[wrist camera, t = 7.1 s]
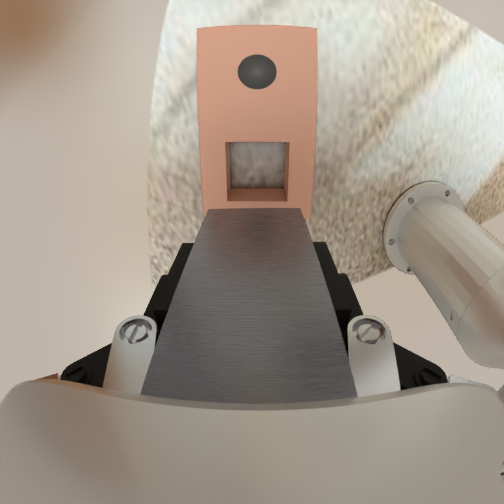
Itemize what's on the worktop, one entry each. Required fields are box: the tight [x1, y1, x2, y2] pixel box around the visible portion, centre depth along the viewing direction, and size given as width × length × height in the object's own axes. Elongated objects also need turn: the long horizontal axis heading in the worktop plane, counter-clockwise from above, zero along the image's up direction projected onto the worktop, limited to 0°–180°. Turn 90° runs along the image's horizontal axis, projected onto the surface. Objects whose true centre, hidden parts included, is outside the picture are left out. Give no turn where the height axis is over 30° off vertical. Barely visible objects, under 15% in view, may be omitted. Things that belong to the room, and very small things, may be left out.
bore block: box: [197, 25, 317, 220], centre depth 24 cm, size 18×10×4 cm, turn 0°
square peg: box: [140, 208, 358, 404], centre depth 9 cm, size 4×4×10 cm
